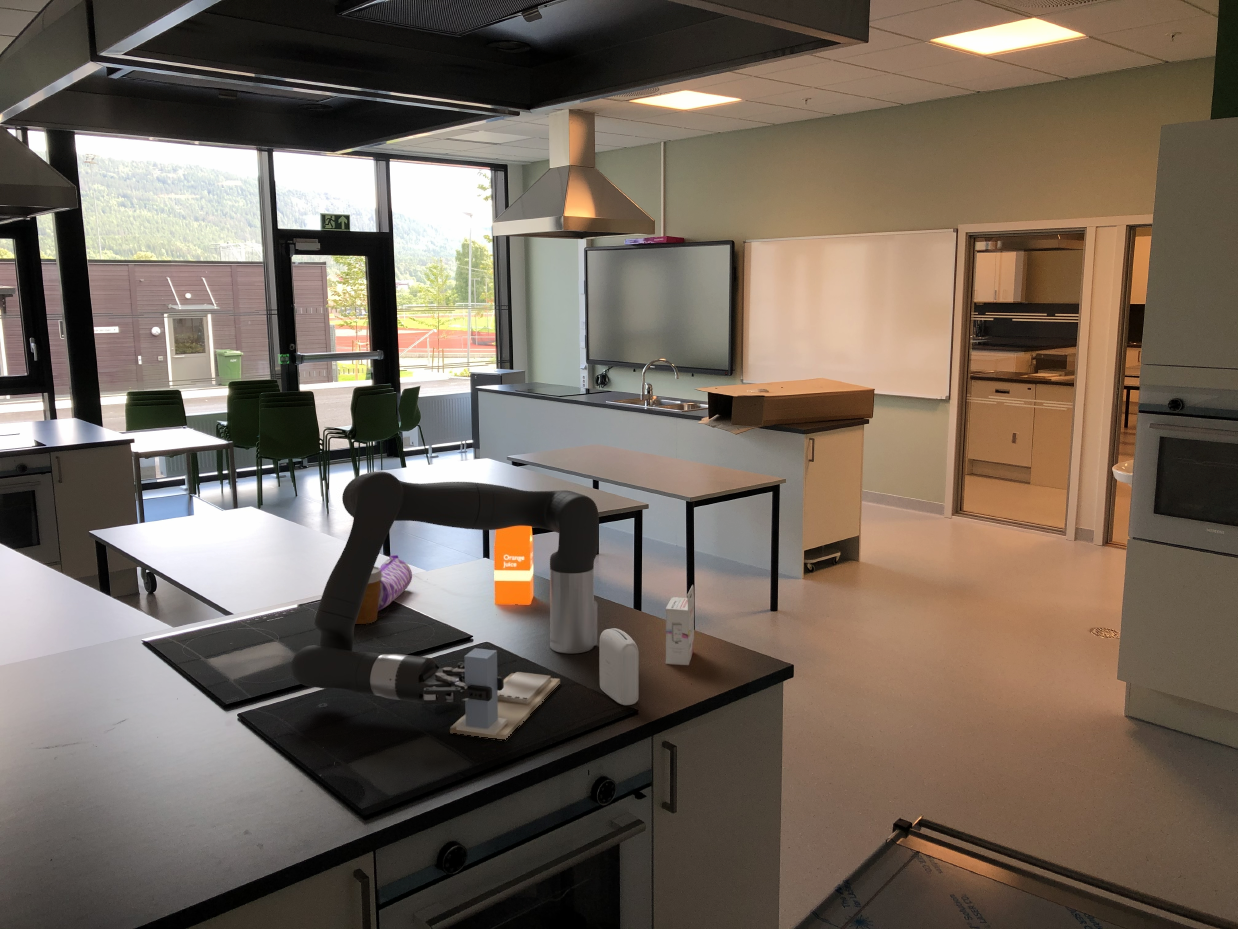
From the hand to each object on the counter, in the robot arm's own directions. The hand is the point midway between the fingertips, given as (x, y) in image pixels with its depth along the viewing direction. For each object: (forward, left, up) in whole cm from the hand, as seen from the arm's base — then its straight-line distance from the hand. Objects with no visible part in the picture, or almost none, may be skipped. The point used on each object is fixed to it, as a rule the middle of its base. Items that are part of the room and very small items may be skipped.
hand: (496, 689), depth 154 cm
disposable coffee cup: (-13, -70, -8) cm, 72 cm away
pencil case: (-26, -82, -8) cm, 86 cm away
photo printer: (-26, +2, -8) cm, 28 cm away
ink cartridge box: (-49, -4, -8) cm, 50 cm away
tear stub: (+1, -2, -7) cm, 7 cm away
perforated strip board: (-8, -8, -8) cm, 14 cm away
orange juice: (-49, -60, -8) cm, 78 cm away
